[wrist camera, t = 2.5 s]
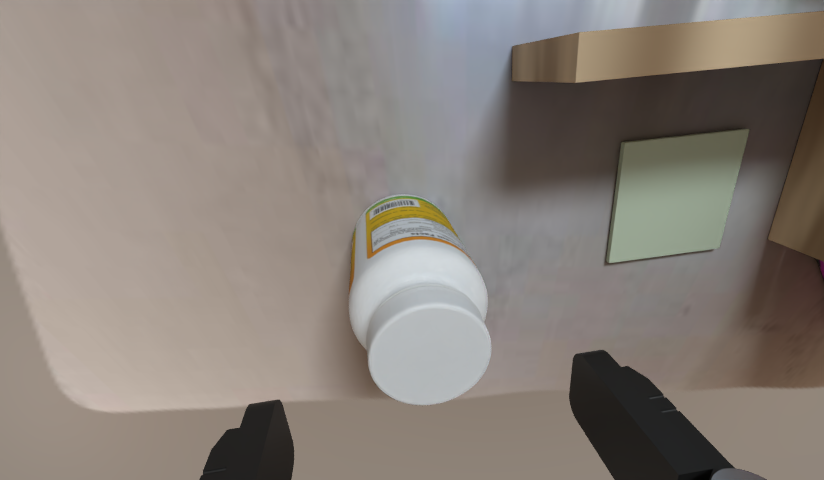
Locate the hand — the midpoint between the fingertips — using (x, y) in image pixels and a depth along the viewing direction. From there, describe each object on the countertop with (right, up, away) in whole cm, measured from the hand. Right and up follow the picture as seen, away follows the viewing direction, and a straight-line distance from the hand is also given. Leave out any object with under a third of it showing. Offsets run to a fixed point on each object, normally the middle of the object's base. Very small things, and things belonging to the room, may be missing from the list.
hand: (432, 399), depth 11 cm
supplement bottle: (-1, +4, +11) cm, 12 cm away
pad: (+14, +7, +11) cm, 19 cm away
